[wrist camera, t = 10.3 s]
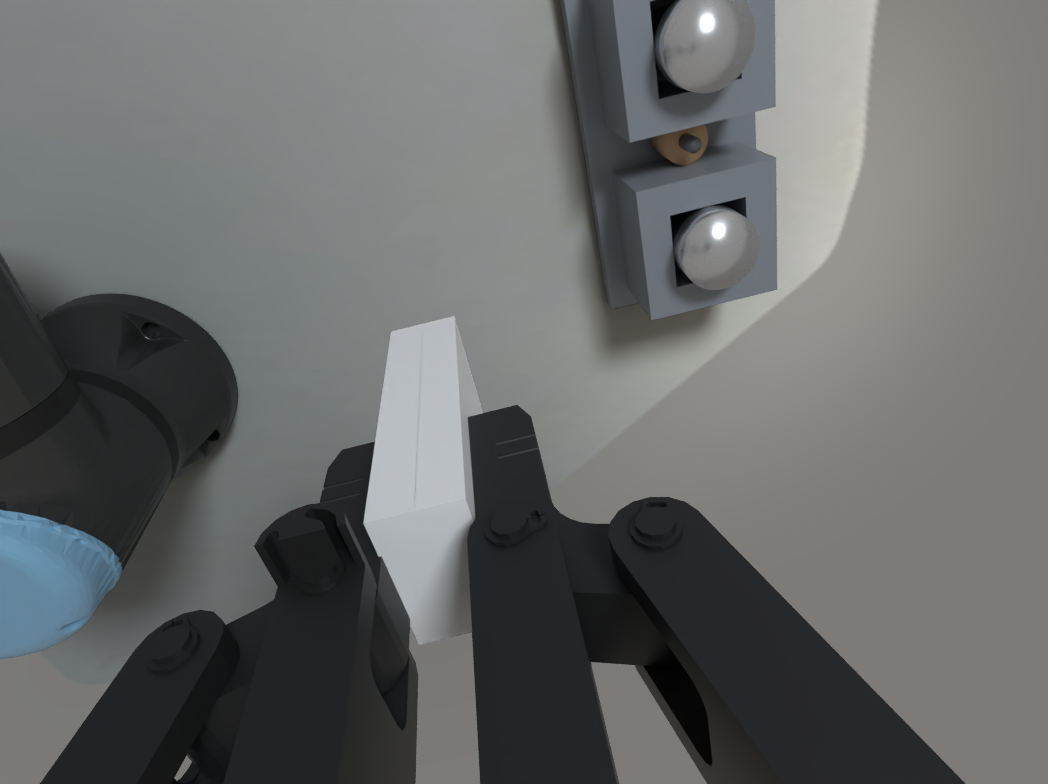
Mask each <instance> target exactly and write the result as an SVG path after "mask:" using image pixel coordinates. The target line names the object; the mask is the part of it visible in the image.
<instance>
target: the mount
mask: <svg viewBox="0 0 1048 784" xmlns="http://www.w3.org/2000/svg"><path fill="white" fill-rule="evenodd" d="M674 1H675V0H560V4H561V10H562V17H563V23H564V29H565V36H566V42H567V48H568V55H569V61H570V68H571V74H572V80H573V87H574V93H575V99H576V106H577V112H578V118H579V125H580V131H581V138H582V144H583V150H584V157H585V163H586V169H587V176H588V182H589V188H590V195H591V201H592V208H593V214H594V220H595V227H596V233H597V239H598V246H599V252H600V259H601V265H602V271H603V278H604V284H605V290H606V297H607V302H608V304H609V306H610V307H611V309H616V308H620V307H624V306H628V305H633V304H637V303H639V304H640V305H641V307H642V308H643V309H644V311H645V312H646V314H647V315H648V316H649V318H650V319H651V320H655V319H659V318H663V317H668V316H672V315H676V314H680V313H684V312H688V311H692V310H696V309H700V308H704V307H708V306H712V305H716V304H720V303H724V302H728V301H733V300H737V299H741V298H745V297H749V296H753V295H757V294H761V293H765V292H769V291H773V290H777V219H776V157H773V156H771V155H768V154H766V153H763V152H761V151H758V150H756V130H755V112H756V111H760V110H764V109H768V108H772V107H776V104H775V0H745V2H746V3H747V5H748V6H749V8H750V10H751V12H752V15H753V18H754V22H755V43H754V48H753V52H752V55H751V57H750V60H749V62H748V64H747V65H746V67H745V69H744V70H743V71H742V73H741V74H740V75H739V76H738V77H737V78H736V79H735V80H734V81H733V82H732V83H731V84H729V85H728V86H726V87H725V88H723V89H721V90H718V91H715V92H711V93H696V92H692V91H688V90H685V89H681V88H678V87H676V86H674V85H673V84H671V83H670V82H669V81H667V80H666V79H665V77H664V76H663V75H662V73H661V72H660V70H657V69H656V64H655V53H654V43H653V32H652V22H651V13H652V12H653V11H655V10H656V9H658V8H661V7H666V6H670V5H671V4H672V3H673V2H674ZM713 205H721V206H726V207H729V208H731V209H733V210H735V211H736V212H738V213H739V214H741V215H743V216H744V217H746V218H747V219H749V220H750V221H751V222H752V223H753V224H754V226H755V227H756V229H757V231H758V233H759V237H760V251H759V256H758V259H757V261H756V263H755V265H754V267H753V268H752V270H751V271H750V272H749V274H748V275H747V276H746V277H745V278H744V279H742V280H741V281H740V282H738V283H737V284H735V285H733V286H731V287H729V288H725V289H721V290H708V289H704V288H701V287H699V286H697V285H696V284H695V283H693V282H692V281H691V280H690V279H689V278H688V277H687V276H686V275H685V274H684V273H683V272H682V271H681V269H680V268H679V267H678V265H677V263H676V261H675V258H674V252H673V242H672V232H671V221H670V216H671V215H675V214H679V213H683V212H687V211H691V210H695V209H699V208H703V207H707V206H713Z"/></svg>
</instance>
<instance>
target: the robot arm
mask: <svg viewBox="0 0 1048 784" xmlns="http://www.w3.org/2000/svg"><path fill="white" fill-rule="evenodd" d="M237 400H238V390H237V383H236V378H235V375H234V372H233V369H232V366H231V364H230V362H229V360H228V358H227V356H226V355H225V353H224V352H223V350H222V349H221V347H220V346H219V345H218V343H217V342H216V341H215V340H214V339H213V338H212V337H211V336H210V335H209V334H208V333H207V332H206V331H205V330H204V329H203V328H202V327H201V326H199V325H198V324H197V323H196V322H194V321H193V320H191V319H190V318H189V317H187V316H185V315H184V314H182V313H180V312H179V311H177V310H175V309H173V308H171V307H169V306H166V305H164V304H161V303H159V302H156V301H153V300H150V299H146V298H142V297H138V296H133V295H125V294H97V295H90V296H85V297H81V298H78V299H75V300H72V301H70V302H67V303H65V304H63V305H62V306H60V307H58V308H57V309H55V310H54V311H52V312H51V313H50V314H48V315H47V316H46V317H44V318H43V319H42V320H40V319H39V317H38V315H37V314H36V312H35V310H34V309H33V307H32V305H31V304H30V302H29V300H28V299H27V297H26V295H25V294H24V292H23V290H22V288H21V287H20V285H19V283H18V282H17V280H16V278H15V277H14V275H13V273H12V272H11V270H10V268H9V267H8V265H7V263H6V262H5V260H4V258H3V257H2V255H1V253H0V659H5V658H12V657H18V656H23V655H27V654H31V653H35V652H38V651H41V650H44V649H47V648H49V647H51V646H54V645H56V644H58V643H60V642H61V641H63V640H65V639H67V638H68V637H70V636H71V635H73V634H74V633H75V632H77V631H78V630H79V629H80V628H81V627H82V626H83V625H84V624H85V623H86V622H87V621H88V620H89V618H90V617H91V616H92V614H93V613H94V611H95V610H96V608H97V607H98V605H99V604H100V602H101V601H102V599H103V598H104V597H105V595H106V594H107V593H108V592H109V591H110V590H111V589H113V587H114V586H115V585H116V583H117V582H118V580H119V578H120V575H121V573H122V571H123V569H124V567H125V565H126V563H127V562H128V560H129V558H130V556H131V554H132V552H133V550H134V549H135V547H136V545H137V543H138V541H139V539H140V538H141V536H142V534H143V532H144V530H145V528H146V526H147V525H148V523H149V521H150V519H151V517H152V515H153V514H154V512H155V510H156V508H157V506H158V504H159V503H160V501H161V499H162V497H163V495H164V493H165V491H166V490H167V488H168V486H169V484H170V483H171V481H172V480H174V479H175V478H177V477H178V476H180V475H181V474H183V473H184V472H186V471H187V470H188V469H190V468H191V467H193V466H194V465H196V464H197V463H199V462H200V461H202V460H203V459H204V458H206V457H207V456H208V455H209V454H210V453H211V452H212V451H213V450H214V449H215V448H216V447H217V446H218V444H219V443H220V442H221V440H222V439H223V437H224V436H225V434H226V432H227V430H228V428H229V426H230V424H231V422H232V420H233V417H234V415H235V412H236V408H237ZM254 547H255V549H256V550H257V552H258V554H259V555H260V557H261V559H262V561H263V562H264V564H265V566H266V567H267V569H268V571H269V572H270V574H271V576H272V577H273V579H274V581H275V582H276V584H277V586H278V588H277V592H276V595H275V599H274V600H273V601H271V602H269V603H268V604H266V605H264V606H263V607H261V608H259V609H257V610H255V611H253V612H251V613H249V614H247V615H245V616H243V617H241V618H239V619H237V620H235V621H233V622H231V623H229V624H227V625H225V624H224V622H223V621H222V619H221V618H220V617H219V616H218V615H216V614H215V613H214V612H211V611H204V610H198V611H193V612H189V613H184V614H182V615H180V616H178V617H176V618H173V619H171V620H169V621H167V622H165V623H164V624H163V625H161V626H160V627H159V628H157V629H156V630H155V631H153V632H152V633H151V634H149V635H148V636H147V637H146V638H145V639H144V641H143V642H142V643H141V644H140V645H139V646H138V647H137V648H136V649H135V651H134V652H133V653H132V655H131V656H130V658H129V659H128V660H127V662H126V663H125V665H124V666H123V667H122V669H121V670H120V672H119V673H118V674H117V676H116V677H115V679H114V680H113V681H112V683H111V684H110V686H109V687H108V689H107V690H106V692H105V693H104V694H103V696H102V697H101V698H100V700H99V701H98V703H97V704H96V705H95V707H94V708H93V710H92V711H91V713H90V714H89V715H88V717H87V718H86V720H85V721H84V722H83V724H82V725H81V727H80V728H79V729H78V731H77V732H76V734H75V735H74V737H73V738H72V740H71V741H70V742H69V744H68V745H67V746H66V748H65V749H64V751H63V752H62V753H61V755H60V756H59V758H58V759H57V760H56V762H55V764H54V765H53V766H52V767H51V769H50V770H49V772H48V773H47V775H46V776H45V777H44V779H43V780H42V782H41V783H40V784H415V776H416V738H417V737H416V736H417V698H418V672H417V668H416V663H415V661H414V659H413V657H412V654H411V652H410V650H409V633H410V626H411V628H412V631H413V633H414V635H415V637H416V639H417V641H418V644H419V645H421V644H425V643H429V642H434V641H438V640H442V639H446V638H450V637H454V636H458V635H462V634H466V633H471V632H472V639H473V657H474V674H475V693H476V711H477V730H478V748H479V767H480V784H619V781H618V776H617V772H616V768H615V764H614V760H613V755H612V751H611V747H610V743H609V738H608V734H607V730H606V726H605V722H604V718H603V713H602V709H601V705H600V700H599V696H598V692H597V688H596V683H595V679H594V675H593V671H592V667H591V662H601V663H614V664H629V665H635V666H636V669H637V671H638V673H639V674H640V676H641V677H642V679H643V681H644V682H645V684H646V685H647V687H648V689H649V690H650V692H651V694H652V695H653V697H654V698H655V700H656V702H657V703H658V705H659V706H660V708H661V710H662V711H663V713H664V715H665V716H666V718H667V719H668V721H669V723H670V724H671V726H672V727H673V729H674V731H675V732H676V734H677V736H678V737H679V739H680V740H681V742H682V744H683V745H684V747H685V748H686V750H687V752H688V753H689V755H690V756H691V758H692V760H693V761H694V763H695V764H696V766H697V768H698V769H699V771H700V773H701V774H702V776H703V777H704V779H705V781H706V782H707V784H965V783H964V782H963V781H962V780H961V779H960V778H959V777H958V776H957V775H956V774H955V773H954V772H953V771H952V769H950V767H948V765H946V763H945V762H944V761H942V759H941V758H940V757H939V756H938V755H937V754H936V753H935V752H934V751H933V750H932V749H931V748H930V747H929V746H928V745H927V744H926V743H925V742H924V741H923V740H922V739H921V738H920V737H919V736H918V735H917V734H916V733H915V732H914V731H913V730H912V729H911V728H910V727H909V726H908V725H907V724H906V723H905V722H904V721H903V719H902V718H901V717H900V716H899V715H898V714H897V713H896V712H894V710H893V709H892V708H891V707H890V706H889V705H888V704H887V703H886V702H885V701H884V700H883V699H882V698H881V697H880V696H879V695H878V694H877V693H876V692H875V691H874V690H873V689H872V688H871V687H870V686H869V685H868V684H867V683H866V682H865V681H864V680H863V679H862V678H861V677H860V676H859V675H858V674H857V672H856V671H855V670H854V669H852V667H851V666H850V665H849V664H848V663H847V662H846V661H845V660H844V659H843V658H842V657H841V656H840V655H839V654H838V653H837V652H836V651H835V650H834V649H833V648H832V647H831V646H830V645H829V644H828V643H827V642H826V641H825V640H824V639H823V638H822V637H821V636H820V635H819V634H818V633H817V632H816V631H815V630H814V629H813V628H812V627H811V626H810V624H809V623H808V622H807V621H806V620H805V619H804V618H803V617H802V616H801V615H800V614H799V613H798V612H797V611H796V610H795V609H794V608H793V607H792V606H791V605H790V604H789V603H788V602H787V601H786V600H785V599H784V598H783V597H782V596H781V595H780V594H779V593H778V592H777V591H776V590H775V589H774V588H773V587H772V586H771V585H770V584H769V583H768V582H767V581H766V580H765V579H764V577H763V576H761V574H760V573H759V572H758V571H757V570H756V569H755V568H754V567H753V566H752V565H751V564H750V563H749V562H748V561H747V560H746V559H745V558H744V557H743V556H742V555H741V554H740V553H739V552H738V551H737V550H736V549H735V548H734V547H733V546H732V545H731V544H730V543H729V542H728V541H727V540H726V539H725V538H724V537H723V536H722V535H721V534H720V533H719V532H718V531H717V529H716V528H715V527H713V525H712V524H711V523H710V522H709V521H708V520H707V519H706V518H705V517H704V516H703V515H702V514H701V513H700V512H699V511H698V510H696V509H695V508H693V507H692V506H690V505H689V504H688V503H686V502H684V501H680V500H677V499H673V498H670V497H649V498H645V499H642V500H638V501H634V502H632V503H630V504H629V505H627V506H626V507H624V508H622V509H621V510H619V511H618V513H617V514H616V515H615V517H614V518H613V519H612V521H611V522H610V524H591V523H581V522H578V521H575V520H572V519H569V518H568V517H566V516H564V515H562V514H560V512H559V511H558V510H557V509H556V508H555V507H554V505H553V503H552V501H551V496H550V492H549V488H548V483H547V479H546V475H545V471H544V467H543V463H542V459H541V455H540V451H539V447H538V443H537V439H536V435H535V431H534V427H533V423H532V419H531V416H530V415H529V414H527V413H526V412H525V411H524V410H523V409H521V408H520V407H519V406H518V405H515V406H511V407H507V408H503V409H499V410H495V411H490V412H486V413H483V411H482V408H481V405H480V401H479V398H478V394H477V391H476V388H475V384H474V381H473V377H472V374H471V371H470V367H469V364H468V360H467V357H466V354H465V350H464V347H463V343H462V340H461V337H460V333H459V330H458V326H457V323H456V320H455V316H453V317H449V318H444V319H440V320H436V321H432V322H428V323H424V324H420V325H416V326H412V327H408V328H404V329H400V330H396V331H392V332H391V337H390V344H389V351H388V357H387V364H386V371H385V378H384V385H383V392H382V399H381V405H380V412H379V419H378V426H377V433H376V440H375V442H372V443H368V444H364V445H360V446H356V447H352V448H348V449H343V450H342V451H341V452H340V453H339V455H338V456H337V457H336V459H335V460H334V461H333V462H332V464H331V465H330V466H329V468H328V470H327V474H326V479H325V483H324V490H323V491H322V495H321V499H320V503H318V504H309V505H306V506H303V507H300V508H297V509H295V510H292V511H290V512H288V513H287V514H285V515H283V516H282V517H280V518H278V519H277V520H275V521H274V522H273V523H272V524H271V525H270V526H269V527H268V528H267V529H266V530H265V531H264V532H263V533H262V534H261V535H260V537H259V539H258V541H257V542H256V544H255V546H254ZM186 755H187V756H188V758H189V759H190V760H191V761H192V763H191V765H190V767H189V769H188V770H187V771H186V773H185V774H184V775H183V776H182V778H181V779H180V780H178V781H176V780H175V779H174V777H175V775H176V773H177V772H178V770H179V768H180V766H181V764H182V763H183V761H184V759H185V757H186Z"/></svg>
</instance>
